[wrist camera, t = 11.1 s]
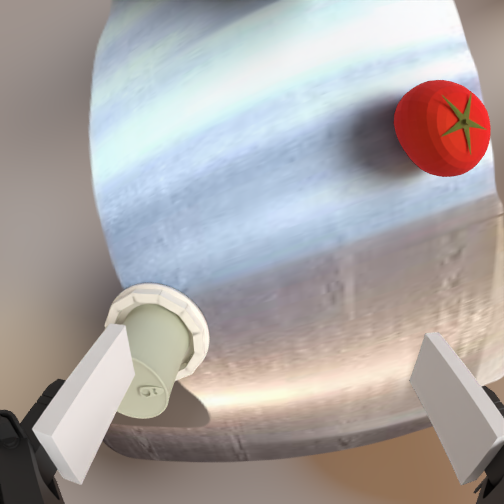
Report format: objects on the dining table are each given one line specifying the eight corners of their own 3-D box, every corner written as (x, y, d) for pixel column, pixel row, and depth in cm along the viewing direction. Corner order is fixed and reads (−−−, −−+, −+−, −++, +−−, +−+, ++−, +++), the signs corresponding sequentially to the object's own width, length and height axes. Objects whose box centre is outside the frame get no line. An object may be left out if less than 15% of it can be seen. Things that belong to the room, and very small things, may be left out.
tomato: (467, 138, 33) (521, 139, 22) (418, 189, 35) (467, 203, 25) (420, 72, 31) (467, 51, 20) (365, 120, 33) (403, 109, 23)
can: (196, 361, 42) (177, 424, 30) (135, 362, 42) (104, 418, 31) (181, 301, 39) (153, 356, 28) (116, 305, 40) (74, 354, 28)
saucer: (101, 280, 40) (94, 287, 37) (206, 284, 39) (203, 292, 37) (120, 368, 44) (114, 377, 41) (212, 377, 43) (210, 387, 41)
